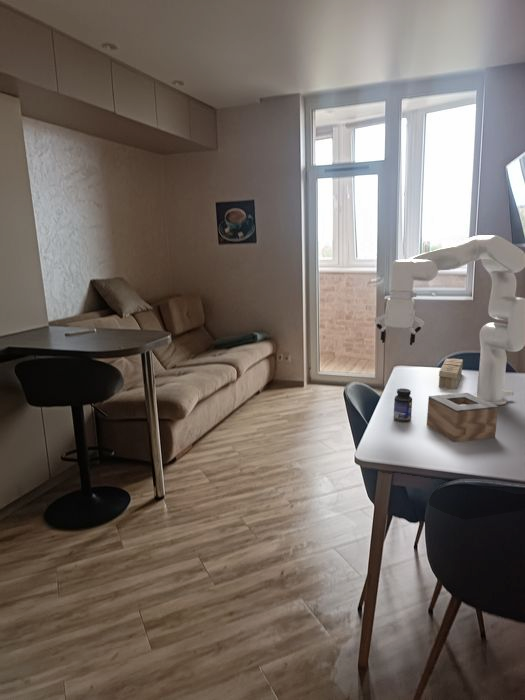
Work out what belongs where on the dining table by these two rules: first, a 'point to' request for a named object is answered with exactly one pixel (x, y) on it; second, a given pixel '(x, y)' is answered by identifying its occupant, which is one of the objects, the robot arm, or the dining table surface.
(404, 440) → the dining table surface
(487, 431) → the sleeve block
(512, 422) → the dining table surface
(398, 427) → the dining table surface
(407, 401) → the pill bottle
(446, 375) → the block tower
